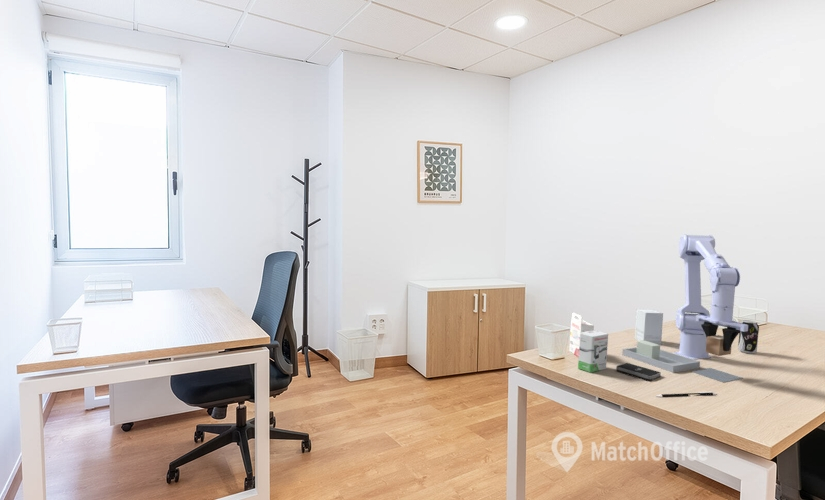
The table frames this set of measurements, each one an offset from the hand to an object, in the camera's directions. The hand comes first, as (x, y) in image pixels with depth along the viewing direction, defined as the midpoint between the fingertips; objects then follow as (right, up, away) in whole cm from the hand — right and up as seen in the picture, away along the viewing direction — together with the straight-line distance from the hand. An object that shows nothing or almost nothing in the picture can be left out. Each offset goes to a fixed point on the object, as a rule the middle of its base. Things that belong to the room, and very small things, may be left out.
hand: (718, 348), depth 139 cm
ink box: (-38, -8, +4) cm, 39 cm away
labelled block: (0, -1, 0) cm, 1 cm away
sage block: (-13, -7, +17) cm, 23 cm away
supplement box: (-1, -6, +39) cm, 40 cm away
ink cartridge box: (-36, -7, +19) cm, 42 cm away
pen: (-20, -10, -16) cm, 28 cm away
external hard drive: (-25, -9, 0) cm, 27 cm away
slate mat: (0, -9, +1) cm, 9 cm away
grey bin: (-11, -8, +13) cm, 19 cm away
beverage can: (+31, -8, +29) cm, 43 cm away
